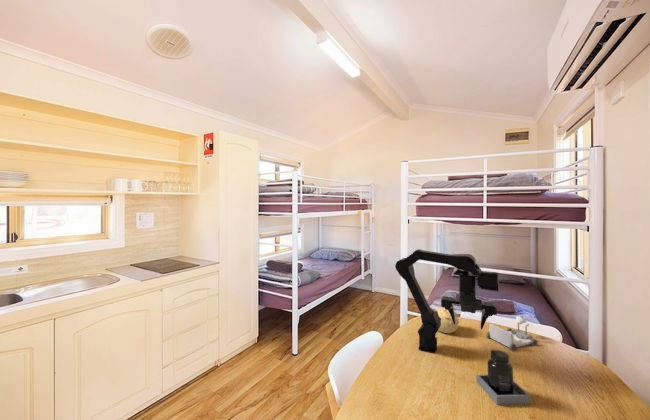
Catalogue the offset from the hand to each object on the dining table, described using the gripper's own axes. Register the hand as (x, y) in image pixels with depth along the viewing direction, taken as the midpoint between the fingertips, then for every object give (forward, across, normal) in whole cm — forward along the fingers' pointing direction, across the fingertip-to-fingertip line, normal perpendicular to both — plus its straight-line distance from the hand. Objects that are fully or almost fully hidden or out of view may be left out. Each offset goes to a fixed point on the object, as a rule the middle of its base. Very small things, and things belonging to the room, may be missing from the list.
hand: (467, 326), depth 100 cm
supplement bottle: (+13, +8, -16) cm, 22 cm away
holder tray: (+13, +9, -16) cm, 22 cm away
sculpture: (+13, -9, +23) cm, 28 cm away
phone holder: (+14, +19, +25) cm, 34 cm away
